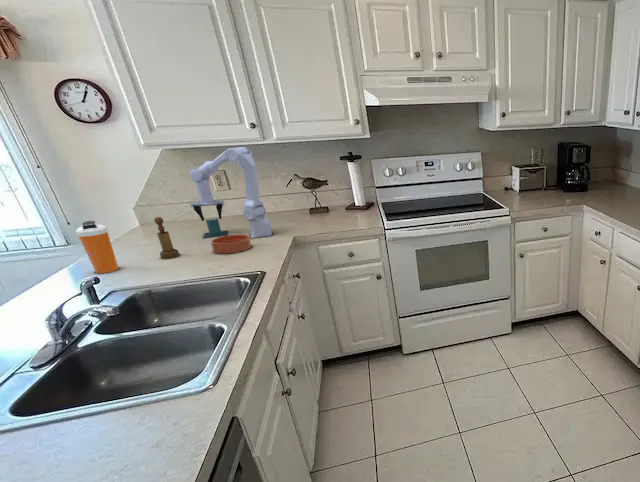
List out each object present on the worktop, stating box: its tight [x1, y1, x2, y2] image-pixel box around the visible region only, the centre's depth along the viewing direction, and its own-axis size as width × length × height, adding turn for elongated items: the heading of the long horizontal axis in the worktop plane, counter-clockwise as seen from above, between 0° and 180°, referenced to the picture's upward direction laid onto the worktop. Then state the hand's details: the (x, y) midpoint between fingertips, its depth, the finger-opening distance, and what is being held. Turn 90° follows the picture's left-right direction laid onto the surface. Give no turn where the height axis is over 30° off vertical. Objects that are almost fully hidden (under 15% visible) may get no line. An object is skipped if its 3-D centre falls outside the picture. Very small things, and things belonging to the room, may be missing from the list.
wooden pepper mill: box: [153, 216, 180, 260], centre depth 180 cm, size 7×6×18 cm
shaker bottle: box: [75, 220, 120, 274], centre depth 164 cm, size 9×9×20 cm
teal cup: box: [205, 217, 222, 235], centre depth 215 cm, size 5×5×8 cm
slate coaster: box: [203, 230, 228, 239], centre depth 217 cm, size 10×10×1 cm
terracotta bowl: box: [210, 234, 252, 254], centre depth 192 cm, size 15×15×5 cm
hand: (211, 219), depth 214 cm, fingers open, 7 cm apart
